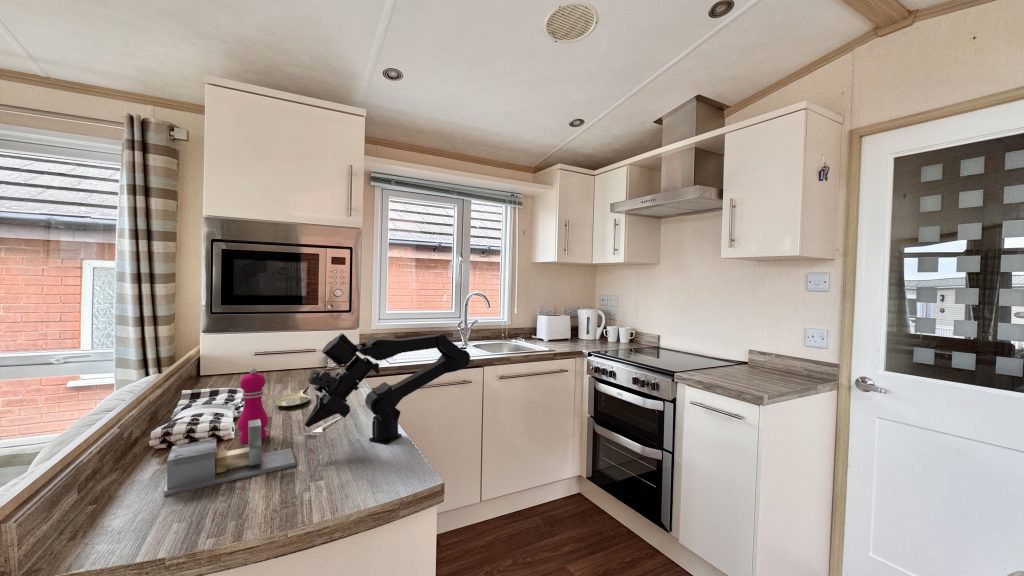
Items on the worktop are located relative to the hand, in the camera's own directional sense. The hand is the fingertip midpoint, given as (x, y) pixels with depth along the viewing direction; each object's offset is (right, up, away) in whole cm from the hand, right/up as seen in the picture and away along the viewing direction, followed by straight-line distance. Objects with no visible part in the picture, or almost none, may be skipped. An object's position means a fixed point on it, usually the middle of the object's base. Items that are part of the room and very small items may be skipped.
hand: (306, 426), depth 102 cm
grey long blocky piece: (-12, -8, -8) cm, 17 cm away
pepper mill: (-21, -8, +11) cm, 25 cm away
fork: (-5, -8, +21) cm, 23 cm away
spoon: (-30, -8, +53) cm, 61 cm away
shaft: (-14, -6, -10) cm, 19 cm away
